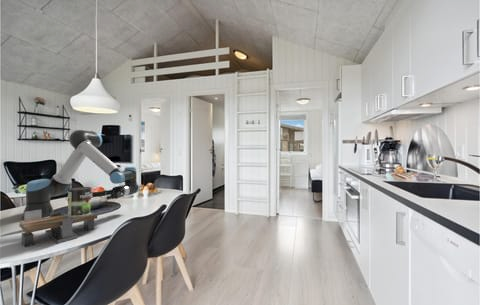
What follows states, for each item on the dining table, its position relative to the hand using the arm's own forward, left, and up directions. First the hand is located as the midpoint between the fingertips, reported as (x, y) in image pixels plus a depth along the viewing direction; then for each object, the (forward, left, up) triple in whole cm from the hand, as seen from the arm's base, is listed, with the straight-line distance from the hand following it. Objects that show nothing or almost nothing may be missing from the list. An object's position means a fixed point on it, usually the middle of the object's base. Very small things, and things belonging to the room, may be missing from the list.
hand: (91, 198), depth 125 cm
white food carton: (-22, -21, -17) cm, 34 cm away
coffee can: (+2, -6, -7) cm, 10 cm away
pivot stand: (+2, -15, -16) cm, 22 cm away
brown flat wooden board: (+2, -15, -9) cm, 17 cm away
